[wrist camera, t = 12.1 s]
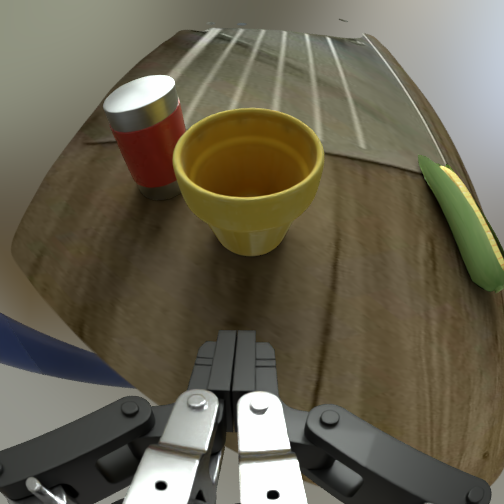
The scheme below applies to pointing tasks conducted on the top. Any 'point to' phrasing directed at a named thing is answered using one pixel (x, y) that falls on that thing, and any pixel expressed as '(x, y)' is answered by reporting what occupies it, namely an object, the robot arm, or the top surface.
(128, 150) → the tin can
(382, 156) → the top surface
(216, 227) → the flower pot
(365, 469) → the robot arm
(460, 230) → the edible corn
